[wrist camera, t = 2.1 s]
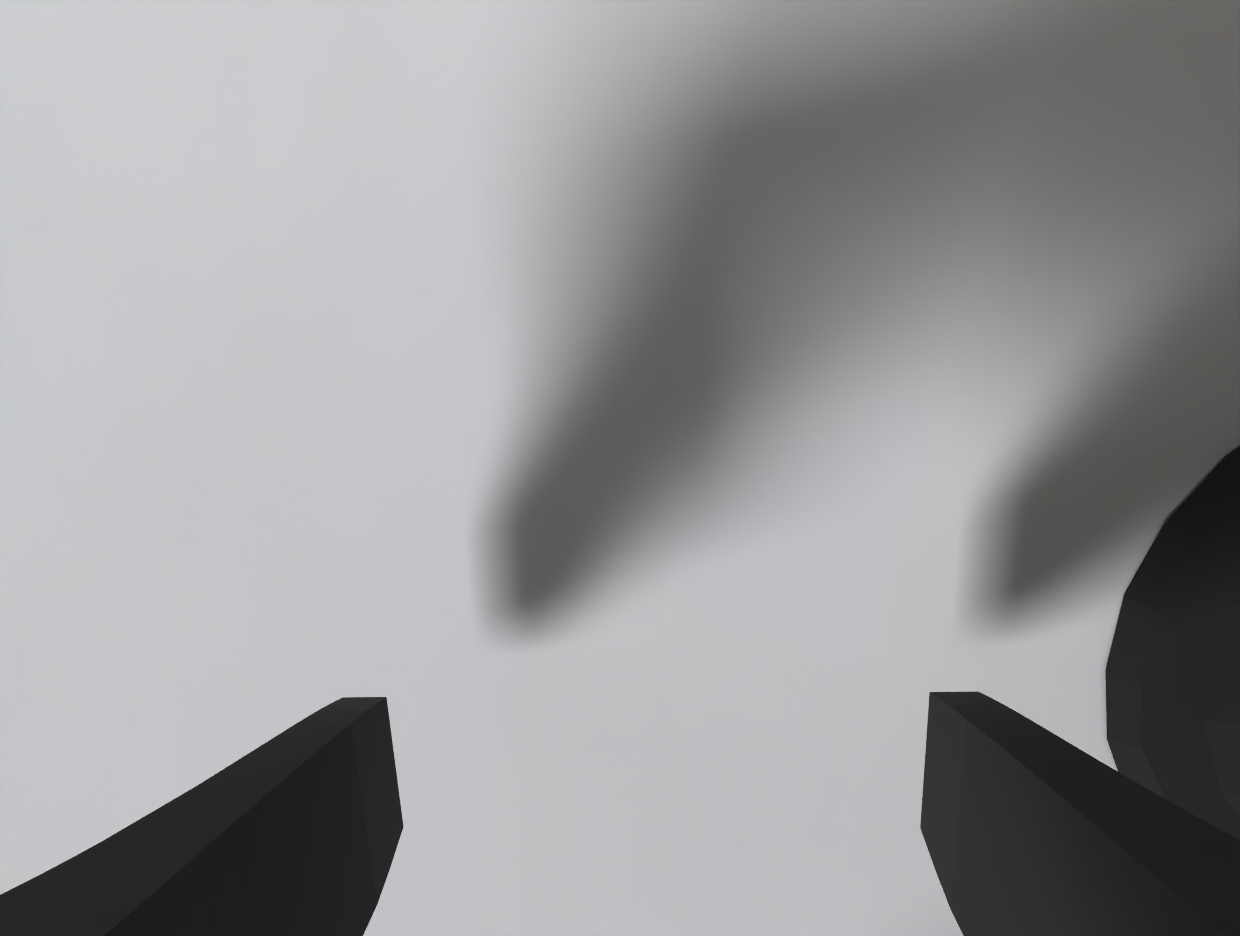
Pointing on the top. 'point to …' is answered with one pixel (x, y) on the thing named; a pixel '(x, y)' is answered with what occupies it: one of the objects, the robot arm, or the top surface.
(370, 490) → the top surface
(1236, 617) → the handle grip
